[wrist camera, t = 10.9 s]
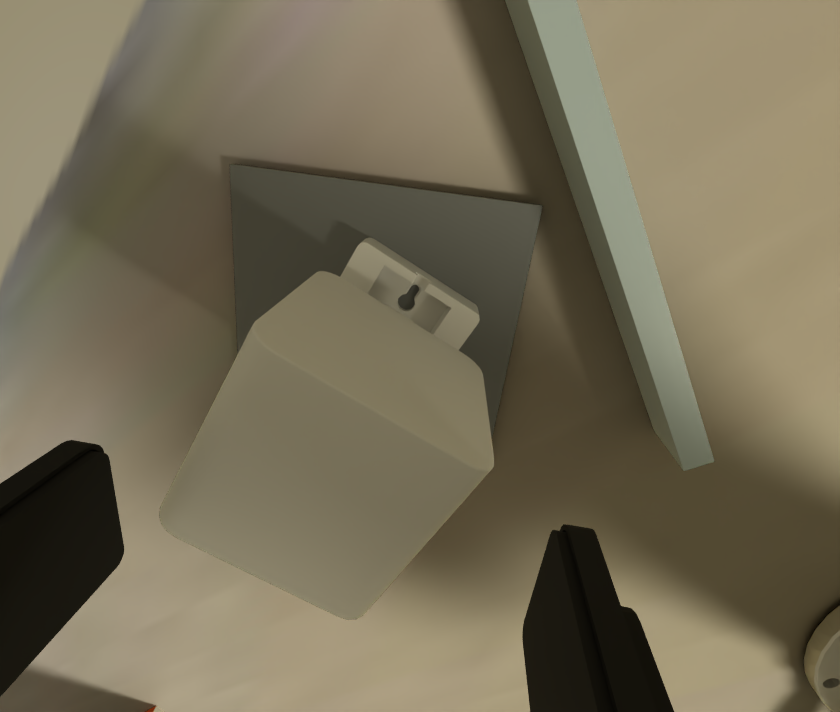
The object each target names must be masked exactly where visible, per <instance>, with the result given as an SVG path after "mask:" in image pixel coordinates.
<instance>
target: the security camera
mask: <svg viewBox="0 0 840 712" xmlns="http://www.w3.org/2000/svg"><path fill="white" fill-rule="evenodd" d="M412 285H417V286H418V287H419V291H418V293H417V294H416V296H415V297H414V300H415V305H414V307H413V308H411V309H408V310H405V309H403V308H401V307H400V306H399V304H398V298H399V297H400V296H401V295H404V294H407V292H408V291H409V289H410V287H411V286H412ZM479 320H480V318H479V311H478V307H477V305H476V304H474V303H473V302H471V301H470V300H468V299H466V298H465V297H463V296H462V295H460V294H459V293H457V292H456V291H454V290H452V289H451V288H449V287H448V286H446V285H445V284H443V283H442V282H440V281H439V280H437V279H435V278H434V277H432V276H431V275H429V274H428V273H426V272H425V271H423V270H422V269H420V268H418V267H417V266H415V265H414V264H412V263H411V262H409V261H408V260H406V259H404V258H403V257H401V256H400V255H398V254H397V253H395V252H394V251H392V250H391V249H389V248H387V247H386V246H384V245H383V244H381V243H380V242H378V241H377V240H375V239H373V238H370V237H369V238H366V239H365V240H363V241H362V242H361V243H360V244H359V245H358V246H357V248H356V250H355V251H354V253H353V255H352V257H351V258H350V260H349V262H348V264H347V266H346V267H345V269H344V271H343V273H342V274H341V276H340V277H339V276H337V275H335V274H332V273H329V272H326V271H319V272H316V273H315V274H314V275H313V276H311V277H310V278H309V279H308V280H306V281H305V282H304V283H303V284H301V285H300V286H299V287H298V288H296V289H295V290H294V291H293V292H291V293H290V294H289V295H287V296H286V297H285V298H284V299H282V300H281V301H280V302H279V303H277V304H276V305H275V306H274V307H272V308H271V309H270V310H269V311H267V312H266V313H265V314H264V315H262V316H261V317H260V318H259V319H257V320H256V321H255V322H254V324H253V325H252V327H251V329H250V331H249V333H248V335H247V337H246V339H245V341H244V343H243V345H242V347H241V349H240V351H239V353H238V355H237V357H236V359H235V361H234V363H233V365H232V367H231V369H230V371H229V372H228V374H227V376H226V378H225V380H224V382H223V384H222V386H221V388H220V390H219V392H218V394H217V396H216V398H215V400H214V402H213V404H212V406H211V408H210V410H209V412H208V414H207V416H206V418H205V420H204V422H203V424H202V426H201V428H200V430H199V432H198V434H197V436H196V438H195V440H194V442H193V444H192V446H191V448H190V450H189V452H188V454H187V455H186V457H185V459H184V461H183V463H182V465H181V467H180V469H179V471H178V473H177V475H176V477H175V479H174V481H173V483H172V485H171V487H170V489H169V491H168V493H167V495H166V497H165V499H164V501H163V503H162V505H161V507H160V513H159V517H160V521H161V524H162V526H163V527H164V528H165V529H166V531H167V532H169V533H170V534H171V535H173V536H174V537H176V538H178V539H180V540H182V541H184V542H186V543H188V544H190V545H192V546H195V547H197V548H199V549H201V550H203V551H205V552H207V553H209V554H211V555H213V556H215V557H217V558H219V559H221V560H223V561H225V562H227V563H229V564H231V565H233V566H235V567H237V568H239V569H242V570H244V571H246V572H248V573H250V574H252V575H254V576H256V577H258V578H260V579H262V580H264V581H266V582H268V583H270V584H272V585H274V586H276V587H278V588H280V589H282V590H284V591H286V592H289V593H291V594H293V595H295V596H297V597H299V598H301V599H303V600H305V601H307V602H309V603H311V604H313V605H315V606H317V607H319V608H321V609H323V610H325V611H327V612H329V613H331V614H333V615H336V616H338V617H340V618H343V619H346V620H355V619H358V618H360V617H362V616H363V615H364V614H365V613H366V612H367V611H368V610H369V608H370V607H371V606H372V605H373V604H374V603H375V602H376V601H377V599H378V598H379V597H380V596H381V595H382V594H383V593H384V591H385V590H386V589H387V588H388V587H389V586H390V585H391V583H392V582H393V581H394V580H395V579H396V578H397V577H398V575H399V574H400V573H401V572H402V571H403V570H404V569H405V568H406V566H407V565H408V564H409V563H410V562H411V561H412V560H413V558H414V557H415V556H416V555H417V554H418V553H419V552H420V550H421V549H422V548H423V547H424V546H425V545H426V544H427V543H428V541H429V540H430V539H431V538H432V537H433V536H434V535H435V533H436V532H437V531H438V530H439V529H440V528H441V527H442V525H443V524H444V523H445V522H446V521H447V520H448V519H449V517H450V516H451V515H452V514H453V513H454V512H455V511H456V510H457V508H458V507H459V506H460V505H461V504H462V503H463V502H464V500H465V499H466V498H467V497H468V496H469V495H470V494H471V492H472V491H473V490H474V489H475V488H476V487H477V486H478V484H479V483H480V482H481V481H482V480H483V479H484V478H485V477H486V475H487V474H488V473H489V472H490V471H491V470H492V469H493V467H494V454H493V446H492V439H491V431H490V423H489V416H488V408H487V401H486V393H485V386H484V378H483V373H482V371H481V369H480V368H479V366H478V365H477V364H476V363H475V362H474V361H473V360H472V359H470V358H469V357H468V356H466V355H465V354H463V353H462V352H460V351H459V349H460V348H461V346H462V345H463V343H464V342H465V341H466V339H467V338H468V337H469V335H470V334H471V333H472V331H473V330H474V328H475V327H476V326H477V324H478V323H479Z"/></svg>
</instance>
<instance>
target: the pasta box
mask: <svg viewBox="0 0 840 712" xmlns="http://www.w3.org/2000/svg"><path fill="white" fill-rule="evenodd" d="M145 712H165V711H164V710H162V709H161V708H159V707H158V706H155V707H153V708H151V709H149V710H147V711H145Z"/></svg>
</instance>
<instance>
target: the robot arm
mask: <svg viewBox="0 0 840 712" xmlns="http://www.w3.org/2000/svg"><path fill="white" fill-rule="evenodd" d="M123 554H124V544H123V538H122V532H121V526H120V520H119V514H118V508H117V502H116V496H115V490H114V484H113V478H112V472H111V466H110V461H109V457H108V455H107V454H105V453H104V451H103V448H102V447H101V446H100V445H96V444H91V443H85V442H79V441H74V440H70V441H65V442H63V443H61V444H60V445H58V446H57V447H55V448H54V449H52V450H51V451H49V452H48V453H46V454H45V455H43V456H42V457H40V458H39V459H37V460H36V461H34V462H33V463H31V464H30V465H28V466H26V467H25V468H23V469H22V470H20V471H19V472H17V473H16V474H14V475H13V476H11V477H10V478H8V479H7V480H5V481H4V482H2V483H1V484H0V696H1V695H2V694H3V693H4V692H5V691H6V690H7V689H8V688H9V686H10V685H11V684H12V683H13V682H14V681H15V680H16V679H17V678H18V676H19V675H20V674H21V673H22V672H23V671H24V670H25V669H26V668H27V666H28V665H29V664H30V663H31V662H32V661H33V660H34V659H35V658H36V656H37V655H38V654H39V653H40V652H41V651H42V650H43V649H44V648H45V646H46V645H47V644H48V643H49V642H50V641H51V640H52V639H53V638H54V636H55V635H56V634H57V633H58V632H59V631H60V630H61V629H62V628H63V626H64V625H65V624H66V623H67V622H68V621H69V620H70V619H71V618H72V616H73V615H74V614H75V613H76V612H77V611H78V610H79V609H80V608H81V606H82V605H83V604H84V603H85V602H86V601H87V600H88V599H89V598H90V596H91V595H92V594H93V593H94V592H95V591H96V590H97V589H98V588H99V586H100V585H101V584H102V583H103V582H104V581H105V580H106V579H107V578H108V576H109V575H110V574H111V573H112V572H113V571H114V570H115V569H116V567H117V566H118V565H119V563H120V561H121V560H122V557H123ZM523 648H524V657H525V666H526V675H527V685H528V694H529V703H530V712H674V710H673V708H672V705H671V702H670V700H669V697H668V694H667V692H666V689H665V686H664V684H663V681H662V678H661V676H660V673H659V670H658V668H657V665H656V662H655V660H654V657H653V654H652V652H651V649H650V646H649V644H648V641H647V638H646V636H645V633H644V631H643V628H642V625H641V623H640V620H639V618H638V616H637V614H636V613H635V612H634V611H633V610H632V609H631V608H628V607H623V606H621V605H620V602H619V600H618V597H617V594H616V591H615V588H614V585H613V582H612V579H611V576H610V573H609V570H608V568H607V565H606V562H605V559H604V556H603V553H602V550H601V547H600V544H599V541H598V539H597V536H596V533H595V531H594V530H593V529H590V528H584V527H578V526H572V525H566V524H564V525H563V526H562V527H561V529H560V531H556V530H552V532H551V534H550V537H549V540H548V544H547V547H546V550H545V554H544V557H543V560H542V564H541V567H540V570H539V574H538V577H537V580H536V583H535V587H534V590H533V593H532V597H531V600H530V603H529V607H528V610H527V613H526V617H525V620H524V625H523ZM804 667H805V674H806V676H807V678H808V681H809V683H810V685H811V686H812V688H813V689H814V691H815V692H816V693H817V695H818V696H819V698H820V699H821V700H822V702H823V703H824V705H825V706H826V707H828V708H829V709H830V710H831V711H832V712H840V605H839V606H838V607H837V608H836V609H834V610H833V611H832V612H831V613H830V614H828V615H827V616H826V618H825V619H824V620H823V621H822V622H821V623H820V625H819V626H818V627H817V628H816V629H815V631H814V633H813V635H812V637H811V639H810V640H809V642H808V644H807V648H806V652H805V657H804Z"/></svg>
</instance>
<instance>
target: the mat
mask: <svg viewBox="0 0 840 712" xmlns="http://www.w3.org/2000/svg"><path fill="white" fill-rule="evenodd" d="M230 186H231V209H232V233H233V256H234V280H235V304H236V327H237V351H238V353H239V351H240V349H241V347H242V345H243V343H244V341H245V339H246V337H247V335H248V333H249V331H250V329H251V327H252V325H253V324H254V322H255V321H256V320H257V319H259V318H260V317H261V316H262V315H264V314H265V313H266V312H267V311H269V310H270V309H271V308H272V307H274V306H275V305H276V304H277V303H279V302H280V301H281V300H282V299H284V298H285V297H286V296H287V295H289V294H290V293H291V292H293V291H294V290H295V289H296V288H298V287H299V286H300V285H301V284H303V283H304V282H305V281H306V280H308V279H309V278H310V277H311V276H313V275H314V274H315V273H316V272H319V271H326V272H329V273H332V274H335V275H337V276H339V277H340V276H341V274H342V273H343V271H344V269H345V267H346V266H347V264H348V262H349V260H350V258H351V257H352V255H353V253H354V251H355V250H356V248H357V246H358V245H359V244H360V243H361V242H362V241H363V240H365V239H366V238H369V237H370V238H373V239H375V240H377V241H378V242H380V243H381V244H383V245H384V246H386V247H387V248H389V249H391V250H392V251H394V252H395V253H397V254H398V255H400V256H401V257H403V258H404V259H406V260H408V261H409V262H411V263H412V264H414V265H415V266H417V267H418V268H420V269H422V270H423V271H425V272H426V273H428V274H429V275H431V276H432V277H434V278H435V279H437V280H439V281H440V282H442V283H443V284H445V285H446V286H448V287H449V288H451V289H452V290H454V291H456V292H457V293H459V294H460V295H462V296H463V297H465V298H466V299H468V300H470V301H471V302H473V303H474V304H476V305H477V307H478V311H479V318H480V320H479V323H478V324H477V326H476V327H475V328H474V330H473V331H472V333H471V334H470V335H469V337H468V338H467V339H466V341H465V342H464V343H463V345H462V346H461V348H460V349H459V351H460V352H462V353H463V354H465V355H466V356H468V357H469V358H470V359H472V360H473V361H474V362H475V363H476V364H477V365H478V366H479V368H480V369H481V371H482V373H483V378H484V386H485V393H486V401H487V408H488V416H489V423H490V431H491V439H492V436H493V431H494V427H495V422H496V418H497V413H498V408H499V404H500V399H501V395H502V390H503V386H504V381H505V376H506V372H507V367H508V363H509V358H510V353H511V349H512V344H513V340H514V335H515V331H516V326H517V321H518V317H519V312H520V308H521V303H522V299H523V294H524V289H525V285H526V280H527V276H528V271H529V266H530V262H531V257H532V253H533V248H534V244H535V239H536V234H537V230H538V225H539V221H540V216H541V212H542V207H543V206H542V205H540V204H532V203H525V202H517V201H510V200H502V199H495V198H487V197H480V196H472V195H465V194H457V193H450V192H442V191H435V190H427V189H420V188H412V187H405V186H397V185H390V184H382V183H375V182H367V181H360V180H352V179H345V178H337V177H330V176H322V175H315V174H307V173H300V172H292V171H285V170H277V169H270V168H262V167H255V166H247V165H240V164H230ZM418 291H419V287H418V286H417V285H412V286H411V287H410V289H409V291H408V292H407V294H404V295H401V296H400V297H399V298H398V304H399V306H400V307H401V308H403V309H405V310H408V309H411V308H413V307H414V305H415V300H414V297H415V296H416V294H417V293H418Z"/></svg>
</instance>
